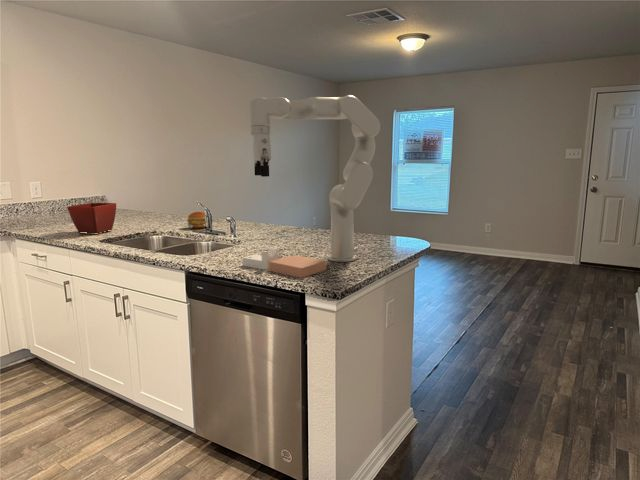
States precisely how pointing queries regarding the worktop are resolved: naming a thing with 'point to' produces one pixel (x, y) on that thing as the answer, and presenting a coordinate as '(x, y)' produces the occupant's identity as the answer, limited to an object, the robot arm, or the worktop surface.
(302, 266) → the riser block
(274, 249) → the bracket
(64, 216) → the worktop surface
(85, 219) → the plant pot
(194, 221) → the burger
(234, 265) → the worktop surface
